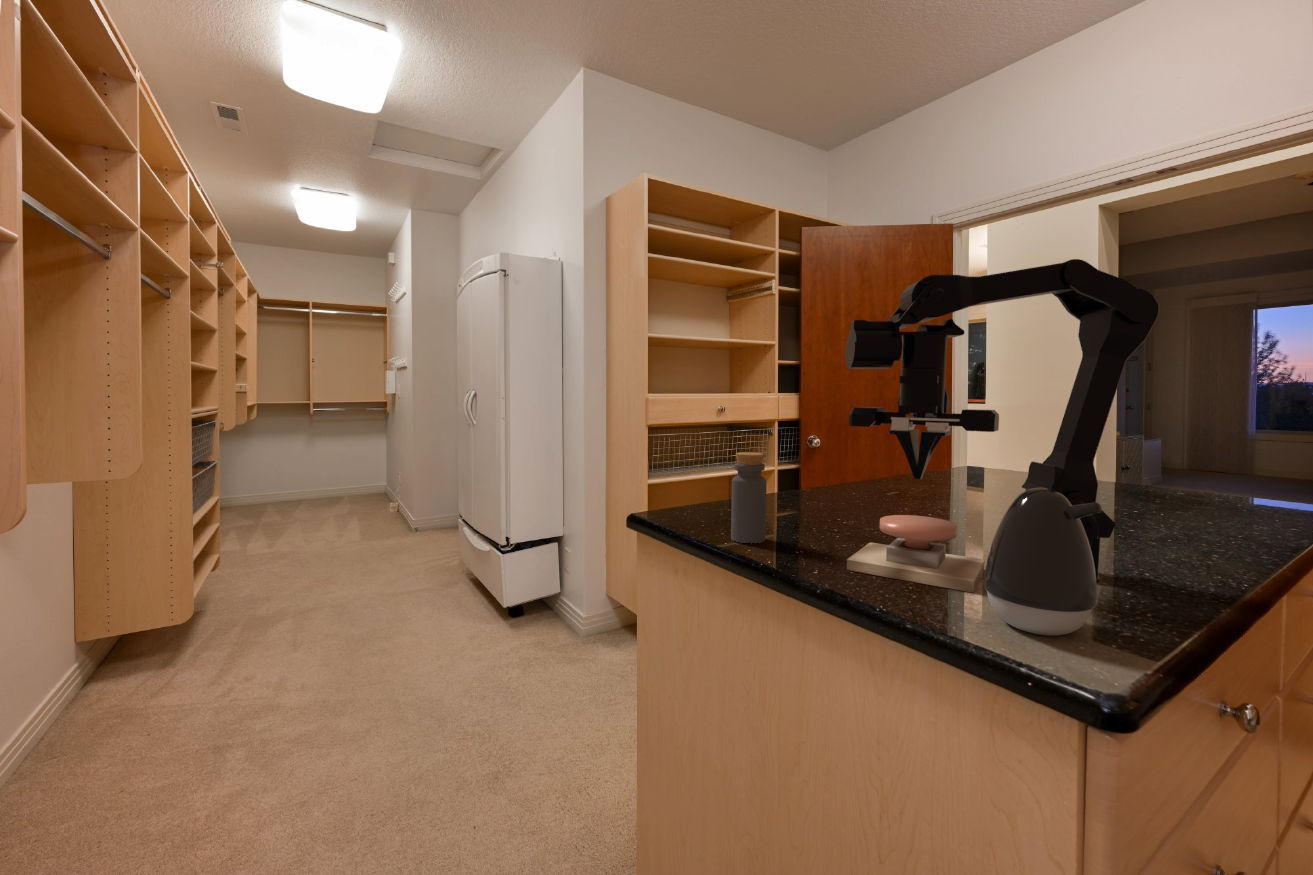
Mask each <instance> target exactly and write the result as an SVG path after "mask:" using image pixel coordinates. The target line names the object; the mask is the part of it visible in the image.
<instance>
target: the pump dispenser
mask: <svg viewBox="0 0 1313 875" xmlns="http://www.w3.org/2000/svg"><path fill="white" fill-rule="evenodd" d="M1025 490H1026V489H1025ZM1101 511H1103V509H1102V505H1101V504H1100V503H1099V502H1097V501H1096V502H1095V503H1087V504H1080V505H1073V506H1072V504H1071V503H1070V502H1069V500H1068V499H1067V498H1066V497H1065V496H1064V495H1062V494H1061V493H1059V492H1057V491H1055V490H1052V489H1049V488H1033V489H1029V490H1026V491H1022V492H1020V493H1019V494H1018V495H1017V496H1016V497H1015V498H1014V499H1013V501H1012V502H1011V503H1010V505H1009V506H1008V508H1007V510H1006V511H1005V513H1003V516H1002V518H1001V521H1000V522H999V524H998V526H997V528H996V531H995V533H994V536H993V538H992V542H991V544H990V547H989V552H988V554H987V560H986V565H985V567H984V575H983V587H984V590H986V592H987V598H988V600H989V603H990V605H991V607H992V609H993V610H994V612H995V614H996V615H998V617H999V618H1000V619H1002V621H1004V622H1005V623H1007V624H1008V625H1010V626H1012V627H1014V628H1015V629H1018V630H1021V631H1023V632H1027V633H1030V634H1034V635H1040V636H1062V635H1067V634H1071V633H1073V632H1076V631H1077V630H1078V629H1080V628H1081V627H1083V625H1085V623H1086V622H1087V621H1088V619H1089V617H1090V616H1091V613H1092V611H1093V609H1094V608H1096V607H1097V603H1098V587H1097V586H1098V584H1097V583H1098V582H1096V573H1095V566H1094V561H1093V556H1092V552H1091V548H1090V544H1089V541H1088V538H1087V535H1086V532H1085V530H1084V527H1083V525H1082V522H1081V520H1080V518H1082V517H1085V516H1089V515H1093V514H1095V513H1100V512H1101Z"/></svg>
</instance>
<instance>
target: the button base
mask: <svg viewBox="0 0 1313 875" xmlns="http://www.w3.org/2000/svg"><path fill="white" fill-rule="evenodd" d="M904 542H905V538H900V537H896V539H894V540H893V541H892V542H891V543H889V544H884V543H883V544H882V543H876V542H869V543H866V545H865V546H863V547H862V548H860V549H859V550H858V551H856V552H855V553H854V554H852V555H851V556H850V557H848V558H846V571H851V572H856V573H861V574H867V575H873V576H878V577H884V578H890V579H895V580H901V581H906V582H912V583H917V584H918V583H919V584H923V585H927V586H928V585H929V586H935V587H940V588H946V589H952V590H957V591H963V592H968V593H974V592H975V590H976V588H977V585H978V583H979V582H980V579H981V577H982V575H983V573H984V572H985V562H986V561H985V558H979V557H971V556H965V555H960V554H959V555H956V554H951V553H947V552H946V550H947V549H946V548H947V545H946V543H945V544H943V543H936V542H932V541H929V548H926V549H917V548H911V547H907V546H905V545H904Z"/></svg>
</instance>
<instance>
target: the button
mask: <svg viewBox="0 0 1313 875" xmlns="http://www.w3.org/2000/svg"><path fill="white" fill-rule="evenodd" d="M879 531H881V533H884V534H886V535H888V536H892V537H896V538H903V539H905V542H904V545H905V546H907V547H911V548H917V549H926V548H929V542H938V541H939V542H940V541H941V542H942V541H951V540H954V539H956V538H957V534H958V533H957V532H958V525H957V524H956V523H954V522H952V521H950V520H946V519H942V518H938V517H931V516H923V515H914V514H913V515H911V514H910V515H909V514H893V515H886V516H882V517H880V519H879Z"/></svg>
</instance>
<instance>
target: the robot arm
mask: <svg viewBox="0 0 1313 875" xmlns="http://www.w3.org/2000/svg"><path fill="white" fill-rule="evenodd" d="M1050 294H1052V295H1053V296H1054V297H1056V298H1057V300H1058V301H1059V302H1060V303H1061V305H1062V306H1063V308H1064V309H1065V311H1066V312H1067V313H1068V314H1070V315H1071V316H1072V317H1074V318H1075V319H1077V321H1079V327H1078V334H1077V335H1078V340H1079V344H1080V349H1081V352H1082V357H1081V359H1080V360H1081V361H1080V364H1079V367H1078V370H1077V373H1076V375H1075V376H1076V377H1075V380H1074V383H1073V385H1072V389H1071V392H1070V395H1069V398H1068V402H1067V405H1066V408H1065V410H1064V414H1063V418H1062V419H1061V420H1062V421H1061V424H1060V426H1059V430H1058V433H1057V435H1056V439H1055V442H1054V445H1053V449H1052V451H1051V452H1050V454H1049V456H1048V457H1047V458H1046V459H1045V460H1043V462H1038V461H1031V462H1030V464H1029V466H1028V473H1027V477H1026V480H1025V481H1024V483H1023V484H1022V486H1021V489H1025V491H1026V490H1029V489H1033V488H1049V489H1052V490H1055V491H1057V492H1059V493H1061V494H1062V495H1064V496H1065V497H1066V498H1067V499H1068V500H1069V502H1070V503H1071V504H1072V506H1073V505H1080V504H1087V503H1095V502H1097V496H1098V490H1099V483H1098V479H1097V473H1096V469H1095V466H1094V463H1095V457H1096V455H1097V452H1098V448H1099V445H1100V442H1101V439H1102V436H1103V433H1104V430H1105V427H1106V424H1107V421H1108V418H1109V414H1110V411H1111V408H1112V406H1113V402H1114V399H1115V397H1116V394H1117V389H1118V388H1119V383H1120V381H1121V378H1122V375H1123V371H1124V368H1125V365H1126V362H1127V361H1128V359H1129V358H1130V357H1131V356H1132V354H1133V353H1135V351H1136V350H1137V349H1139V347H1140V346H1141V345H1142V344H1143V343H1145V341H1146V340H1147V338H1148V336H1149V334H1150V333H1151V330H1152V329H1153V326H1154V325H1155V323H1156V321H1157V320H1158V317H1159V313H1160V303H1159V301H1157V300H1156V299H1155V297H1154V295H1153V294H1152V293H1150V292H1149V291H1148V290H1145V289H1142V288H1137V287H1135V286H1134V285H1133V284H1132V283H1130V282H1129V281H1127V280H1125V279H1123V278H1121V277H1118V276H1115V275H1113V274H1111V273H1107V272H1105V271H1102V270H1099V269H1098V268H1097V267H1095V266H1093V265H1092V264H1090V263H1089V262H1087V261H1085V260H1083V259H1080V258H1077V259H1076V258H1074V259H1073V258H1072V259H1069V260H1067V261H1064V262H1059V263H1053V264H1048V265H1047V264H1046V265H1042V266H1035V267H1030V268H1023V269H1022V268H1021V269H1017V270H1011V271H1005V272H1004V271H1003V272H999V273H992V274H987V275H982V276H981V275H980V276H968V275H961V274H930V275H927V276H924V277H923V278H921V279H919V280H918V281H916V282H914V283H912V284H910V285H909V286H907V287H906V288H905V289H904V291H903V292H902V293H901V295H900V298H899V303H898V304H899V306H898V307H897V309H895V311H894V312H893V313H892V315H891V316H889V319H888V320H887V321H886V320H885V321H883V320H882V321H880V320H878V321H876V320H875V321H870V320H869V321H868V320H865V319H854V320H852V321H851V322H850V330H849V333H848V337H847V341H846V345H845V349H844V350H845V352H844V353H845V355H844V357H845V366H846V367H847V368H848V370H849V369H854V370H857V369H860V370H861V369H866V370H867V369H868V370H870V369H871V370H872V369H873V370H874V369H875V370H884V369H885V370H889V369H891V368H892V366H893V365H894V362H896V363H898V362H900V359H901V365H900V366H901V368H900V375H899V385H900V387H899V388H900V390H899V393H898V396H897V398H898V399H897V406H898V409H897V411H887V409H886V407H881V406H880V407H877V406H876V407H873V406H854V407H853V408H852V409H851V410H850V412H849V415H848V426H849V427H862V428H863V427H865V428H866V427H867V428H870V427H871V426H882V425H883V424H889V425H890V429H889V430H888V434H889V435H895V437H896V438H897V440H898V442H899V444H900V446H901V448H902V450H903V453H904V455H905V456H906V460H907V463H908V465H909V466H908V467H910V468H909V469H910V471H911V474H912V476H913V479H914V480H918V481H919V480H922V479H923V477H924V475H925V472H926V469H927V467H928V464H929V463H930V460H931V457H932V455H933V453H934V450H935V449H936V447H937V445H939V442H940V441H941V439H942V438H943V437H947V436H950V435H952V430H951V429H952V427H962V428H963V429H964V430H965V431H967V432H981V433H982V432H986V433H994V432H998V431H999V429H1000V428H999V425H1000V414H999V413H998V412H997V410H995V409H971V408H970V409H968V408H967V409H961V413H952V412H951V413H950V412H949V411H950V403H951V399H950V398H951V397H950V396H949V394H948V391H947V387H946V373H947V372H946V370H947V369H946V368H947V349H948V339H950V338H956V337H960V336H963V335H964V334H965V330H964V329H963V328H961V327H960V326H959V325H958V324H956V323H955V321H954V319H952V318H948V319H946V320H944V321H943V322H942V323H941V324H922V323H926V322H929V321H931V320H935V319H937V318H940V317H944V316H946V315H949V314H952V313H956V312H958V311H961V310H964V309H968V308H971V307H975V306H981V305H988V304H993V303H994V304H995V303H999V302H1001V303H1002V302H1007V301H1013V300H1020V299H1025V298H1031V297H1037V296H1044V295H1050ZM916 324H920V325H919V326H918V328H917V329H916V330H915V331H900V330H902V329H904V328H905V329H906V328H909V327H911V326H913V325H916ZM910 414H912V416H907V415H910ZM916 426H925V428H926V430H924V431H921V433H920V429H915V427H916ZM919 435H920V441H919ZM1080 520H1081V522H1082V525H1083V527H1084V530H1085V532H1086V535H1087V538H1088V541H1089V544H1090V548H1091V552H1092V556H1093V561H1094V566H1095V573H1096V583H1100V580H1101V579H1100V574H1099V566H1100V548H1101V539H1109V538H1111V536H1112V534H1113V531H1114V530H1115V527H1116V522H1114V520H1113V519H1112V518H1111V517H1110V516H1109V515H1108V514H1106V512H1105V511H1104V510H1102V511H1101V512H1100V513H1095V514H1093V515H1089V516H1085V517H1082V518H1080Z"/></svg>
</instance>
